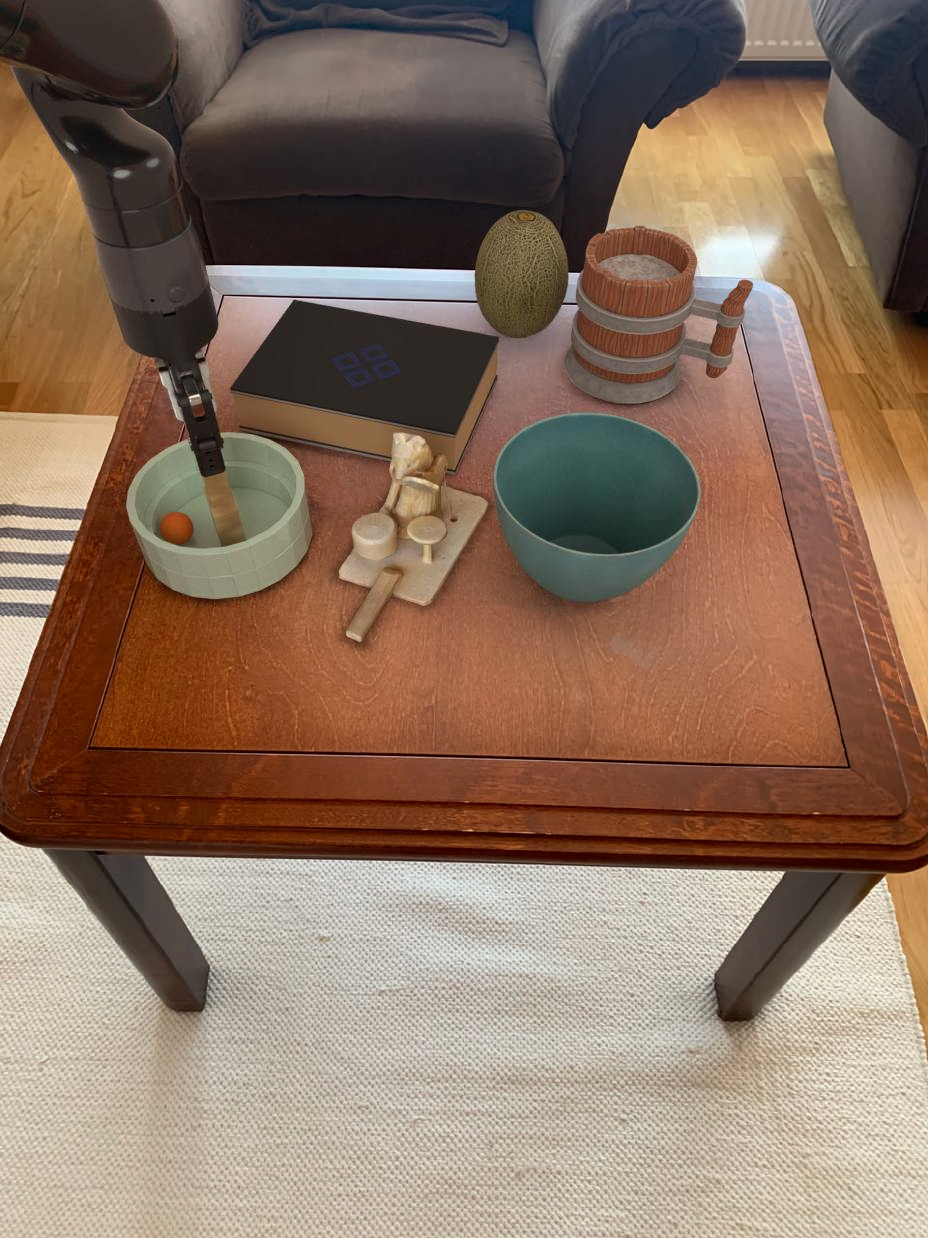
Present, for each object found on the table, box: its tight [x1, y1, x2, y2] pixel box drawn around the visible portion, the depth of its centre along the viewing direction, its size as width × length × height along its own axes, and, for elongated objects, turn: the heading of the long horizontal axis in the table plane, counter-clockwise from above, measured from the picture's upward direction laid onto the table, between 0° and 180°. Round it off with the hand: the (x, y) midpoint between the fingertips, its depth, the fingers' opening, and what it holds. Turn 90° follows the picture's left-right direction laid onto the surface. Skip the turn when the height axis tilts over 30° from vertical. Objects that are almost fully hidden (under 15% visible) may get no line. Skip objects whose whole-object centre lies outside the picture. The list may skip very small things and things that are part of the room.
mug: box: [563, 224, 754, 406], centre depth 104 cm, size 14×19×15 cm
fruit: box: [474, 209, 570, 339], centre depth 110 cm, size 11×11×15 cm
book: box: [229, 299, 500, 477], centre depth 103 cm, size 17×25×7 cm
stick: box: [203, 471, 246, 547], centre depth 86 cm, size 2×4×16 cm, turn 23°
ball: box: [159, 512, 194, 544], centre depth 90 cm, size 3×3×3 cm
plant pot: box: [492, 412, 702, 604], centre depth 86 cm, size 18×18×12 cm
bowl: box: [125, 431, 313, 600], centre depth 90 cm, size 17×17×7 cm
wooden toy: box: [338, 432, 489, 643], centre depth 86 cm, size 22×10×14 cm, turn 155°
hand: (204, 446), depth 83 cm, fingers open, 7 cm apart
